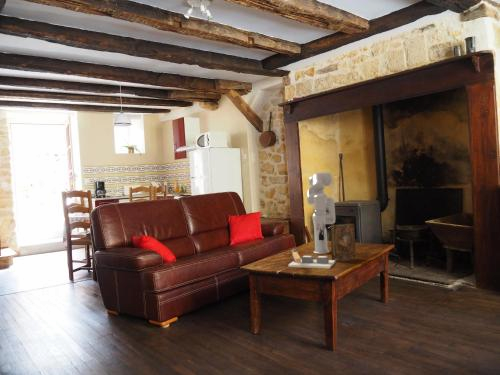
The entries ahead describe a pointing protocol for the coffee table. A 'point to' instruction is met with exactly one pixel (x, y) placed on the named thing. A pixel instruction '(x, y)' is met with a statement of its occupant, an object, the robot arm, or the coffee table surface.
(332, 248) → the book
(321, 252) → the robot arm
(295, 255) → the tan wooden bar
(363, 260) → the coffee table surface
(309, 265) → the board
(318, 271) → the coffee table surface
